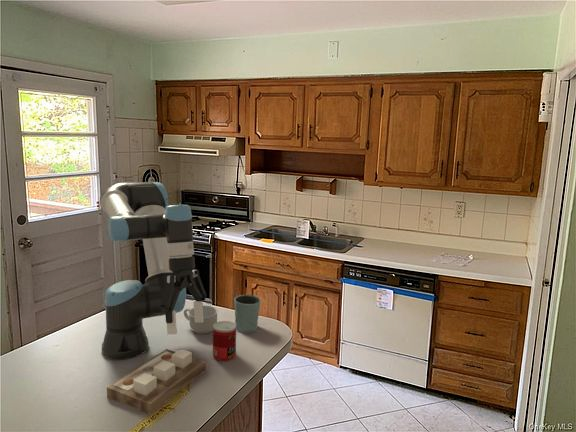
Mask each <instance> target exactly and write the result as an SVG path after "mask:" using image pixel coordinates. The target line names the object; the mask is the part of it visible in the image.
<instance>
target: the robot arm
mask: <svg viewBox="0 0 576 432" xmlns="http://www.w3.org/2000/svg"><path fill="white" fill-rule="evenodd" d="M168 198H169V195H168V192H167V189H166V187H165V186H164V184H163V183H161V182H158V181H145V182H141V181H139V182H138V181H137V182H131V181H130V182H117V183H115V184H113V185H110V186H109V187H107V188H106V189H104V191H103V192H102V193H101V195H100V197H99V205H100V207H101V209H102V211H103V212H104V213H105V214H107V216H108V218H109V219H108V223H107V226H108V227H107V228H108V229H107V230H108V236H109V239H110V240H111V241H113V242H125V241H128V242H129V241H136V240H137V241H138V240H142V243H143V249H144V250H143V251H144V255H145V264H146V267H147V274H148V276H147V277H146V278H145V280H144V284H142V282H141V281H139V280H137V279H134V280H133V279H127V280H122V281H119V282H115V283H114V284H112V285H110V286H109V287H108V288H107V289H106V291H105V294H104V295H105V297H104V305H105V327H106V330H105V334H104V337H103V341H102V342H101V353H102V356H104V357H105V358H106V359H111V360H119V361H120V360H127V359H132V358H136V357H139V356H140V355H142V354H144V353H145V352H146V351H147V350H148V348H149V338H148V336H147V334H146V330H145V328H144V326H143V319H149V318H155V317H161V316H165V323H166V332H167V335H177V334H178V328H177V315H176V314H178V313H180V312H182V311H184V309H185V306H186V300H187V290H188V291H189V293H190V295H191V296H192V298H193V299H194V301H193V303H192V304H193V308H194V317H195V322H200V323H202V322H204V321H203V302H205V301H206V298H207V293H206V290H205V287H204V285H203V282H202V280H201V277H200V270H199V269H195V268H196V264H195V263H196V262H195V256H193V255H195V250H194V233H193V231H194V230H193V214H192V208H191V206H190V205H188V204H172V205H170V204H169V199H168Z"/></svg>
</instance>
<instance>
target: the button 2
mask: <svg viewBox="0 0 576 432" xmlns="http://www.w3.org/2000/svg"><path fill="white" fill-rule="evenodd" d="M192 355H193V353H192V351H188V350H185V349H182V348H180V349H179V350H177V351H175V353H174V354H172V363H173V364H175V366H176V367H179V368H182V369H184V368H185V367H186V366H188V365H189V364H190V363H192V357H193V356H192Z"/></svg>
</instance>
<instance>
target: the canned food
mask: <svg viewBox="0 0 576 432" xmlns="http://www.w3.org/2000/svg"><path fill="white" fill-rule="evenodd" d="M236 348H237V330H236V324H235V322H232V321H230V320H221V321H217V322H216V323H215V324H214V325H213V330H212V356H213V358H214V359H216V360H218V361H221V362H222V361H223V362H225V361H226V362H227V361H230V360H232V359H234V358H235V356H236V353H237V350H236Z"/></svg>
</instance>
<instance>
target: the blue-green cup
mask: <svg viewBox="0 0 576 432" xmlns="http://www.w3.org/2000/svg"><path fill="white" fill-rule="evenodd" d="M233 300H234V301H233V303H234V317H235V318H234V323H235V324H236V332H239V333H244V334H247V333H254V332H255V331H256V330H257V329H258V323H259V322H258V321H259V315H260V314H259V313H260V307H261V297H259V296H257V295H254V294H240V295H237V296H235V297H234V298H233Z"/></svg>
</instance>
